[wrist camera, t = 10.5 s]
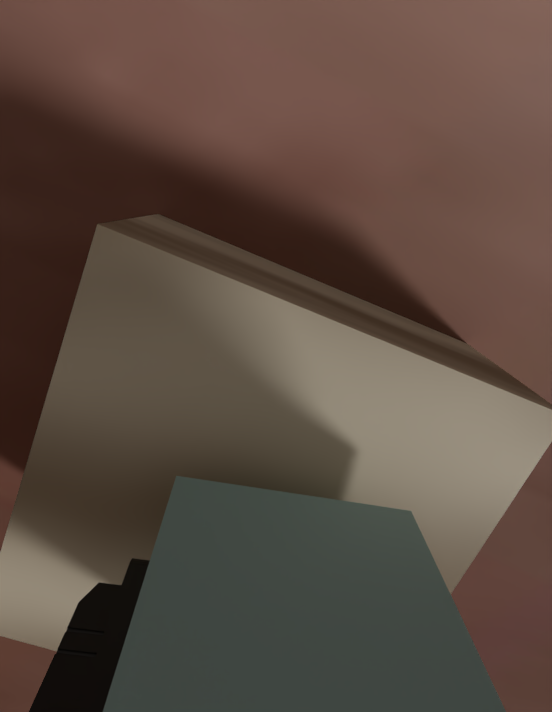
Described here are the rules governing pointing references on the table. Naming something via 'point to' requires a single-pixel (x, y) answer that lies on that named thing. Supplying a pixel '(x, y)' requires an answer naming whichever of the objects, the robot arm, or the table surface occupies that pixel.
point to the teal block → (294, 612)
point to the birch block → (247, 415)
